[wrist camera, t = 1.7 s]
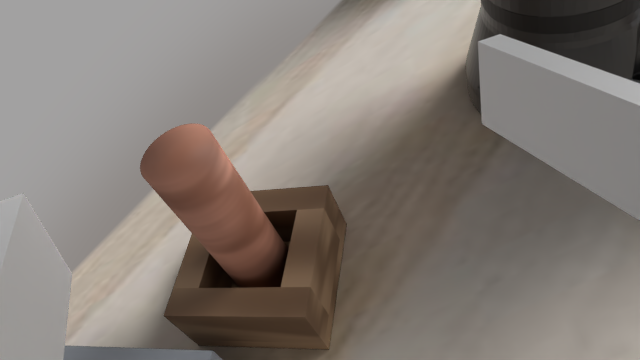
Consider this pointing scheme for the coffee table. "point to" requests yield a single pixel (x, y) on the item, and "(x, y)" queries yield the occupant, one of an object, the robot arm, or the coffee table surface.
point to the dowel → (215, 205)
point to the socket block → (268, 302)
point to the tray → (135, 354)
